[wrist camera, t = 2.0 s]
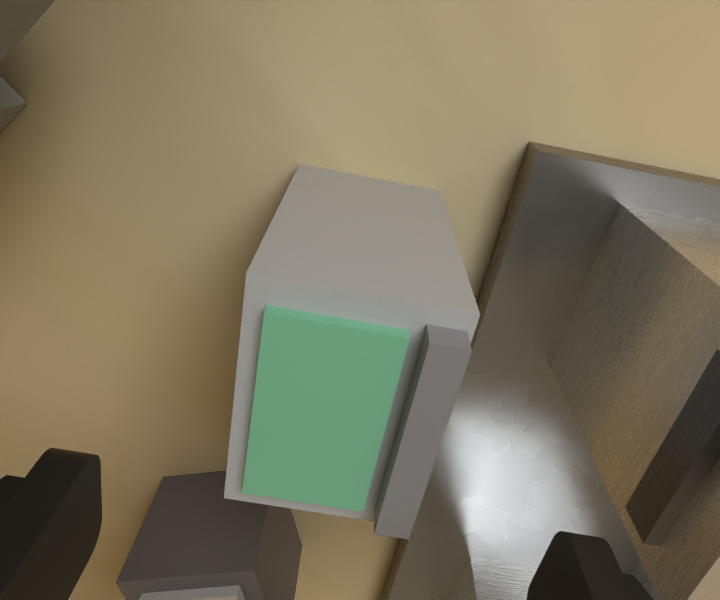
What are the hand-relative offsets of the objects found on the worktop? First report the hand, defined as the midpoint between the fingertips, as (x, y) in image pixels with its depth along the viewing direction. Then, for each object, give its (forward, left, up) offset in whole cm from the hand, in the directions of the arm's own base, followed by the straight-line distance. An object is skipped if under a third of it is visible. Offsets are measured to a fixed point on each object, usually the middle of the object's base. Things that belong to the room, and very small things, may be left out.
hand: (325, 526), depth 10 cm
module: (0, 0, -11) cm, 11 cm away
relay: (+13, -3, -11) cm, 17 cm away
